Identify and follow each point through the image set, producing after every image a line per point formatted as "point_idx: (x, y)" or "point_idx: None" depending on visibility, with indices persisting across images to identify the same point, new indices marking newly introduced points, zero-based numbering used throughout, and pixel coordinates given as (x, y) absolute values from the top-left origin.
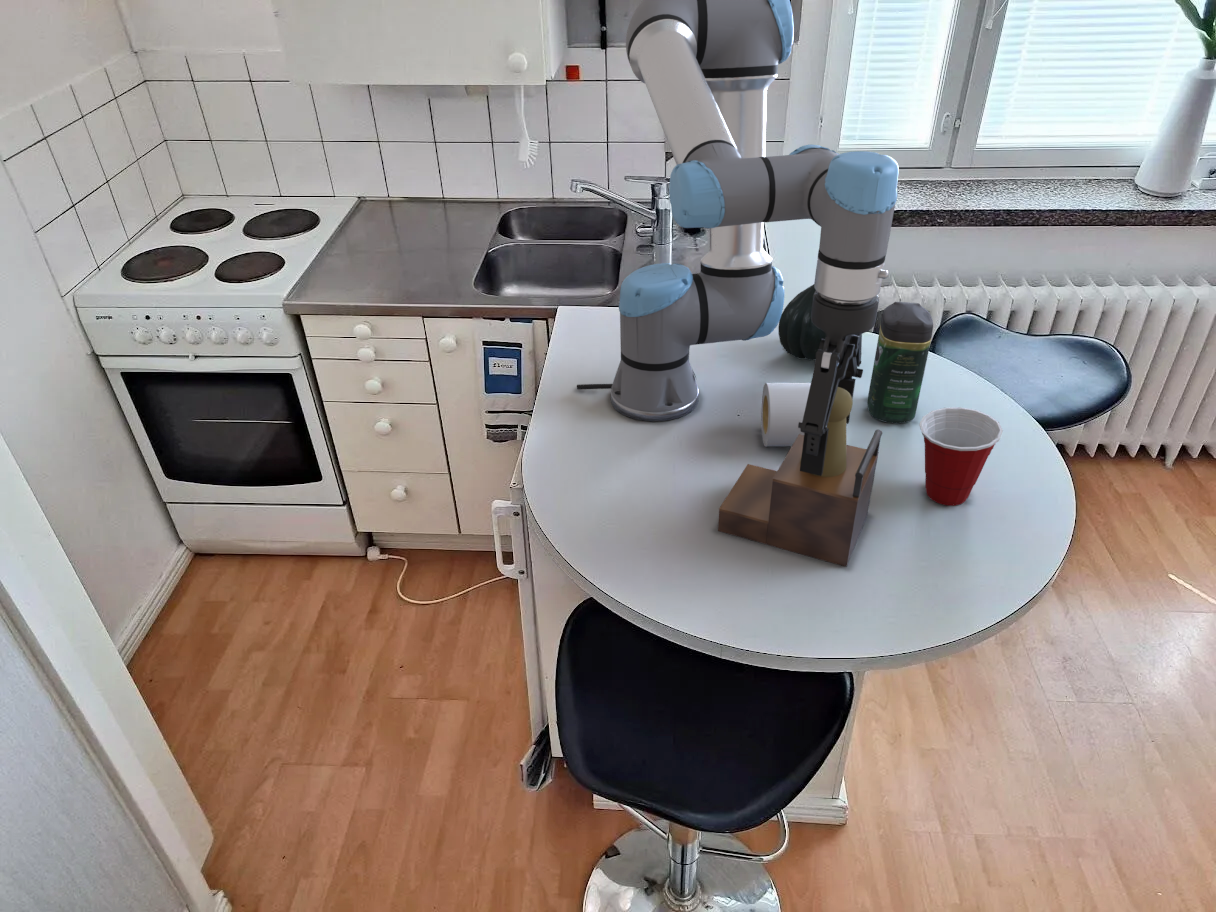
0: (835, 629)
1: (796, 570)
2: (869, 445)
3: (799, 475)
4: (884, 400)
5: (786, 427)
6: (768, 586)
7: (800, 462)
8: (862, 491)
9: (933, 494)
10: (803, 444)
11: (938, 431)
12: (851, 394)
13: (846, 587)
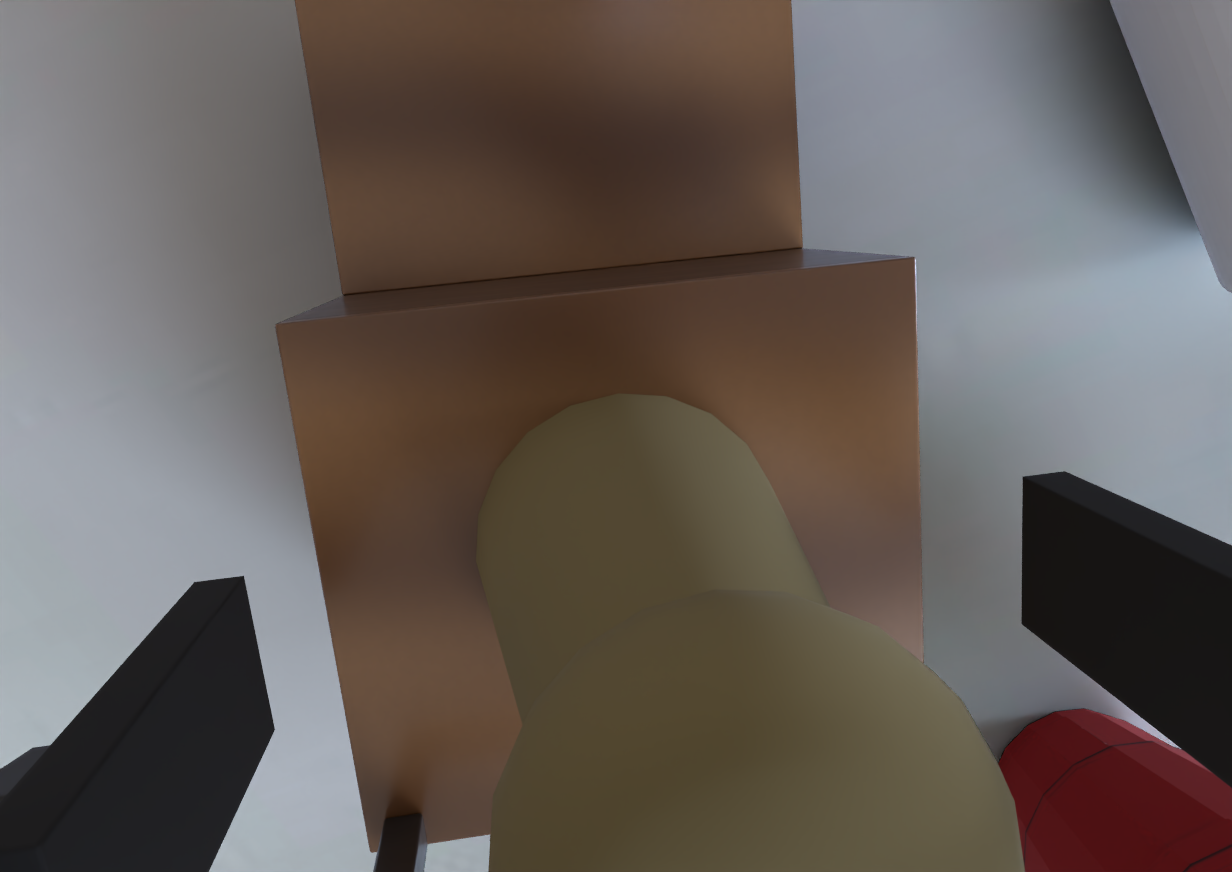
0: (48, 724)
1: (281, 469)
2: None
3: (415, 467)
4: None
5: (1191, 38)
6: (110, 411)
7: (556, 417)
8: None
9: (1014, 770)
10: (80, 716)
11: None
12: (1212, 763)
13: (302, 671)
